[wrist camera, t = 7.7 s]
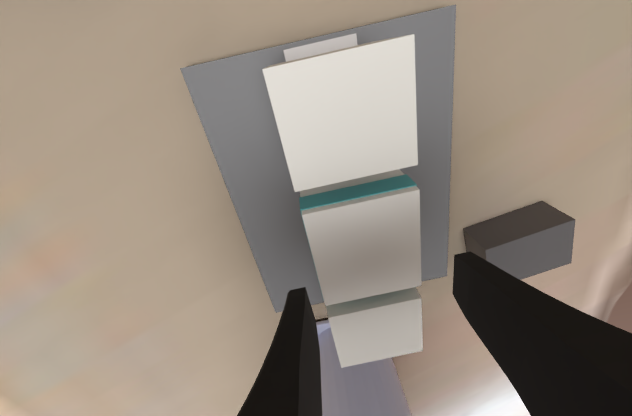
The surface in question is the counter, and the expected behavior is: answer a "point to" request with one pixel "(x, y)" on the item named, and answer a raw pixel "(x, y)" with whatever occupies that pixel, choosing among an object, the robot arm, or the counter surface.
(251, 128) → the mounting plate
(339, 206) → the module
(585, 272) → the counter surface
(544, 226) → the box
